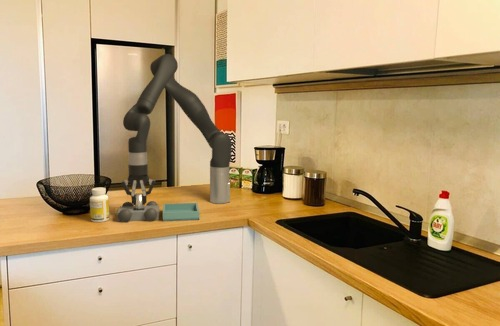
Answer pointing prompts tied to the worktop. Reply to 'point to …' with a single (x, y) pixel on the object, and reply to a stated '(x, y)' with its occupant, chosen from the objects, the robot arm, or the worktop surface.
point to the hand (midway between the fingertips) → (139, 204)
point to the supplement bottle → (99, 205)
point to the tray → (180, 212)
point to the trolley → (137, 212)
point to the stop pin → (139, 201)
